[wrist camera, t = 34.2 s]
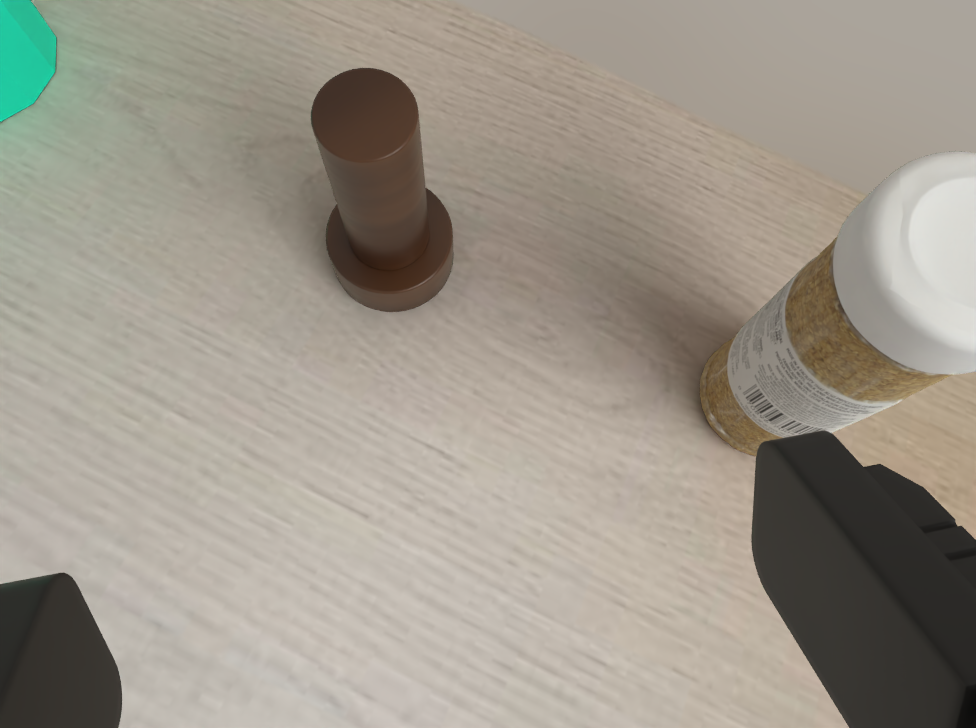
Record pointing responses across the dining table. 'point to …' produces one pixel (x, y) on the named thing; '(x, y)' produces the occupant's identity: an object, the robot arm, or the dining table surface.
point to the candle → (23, 55)
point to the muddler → (380, 192)
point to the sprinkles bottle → (859, 315)
